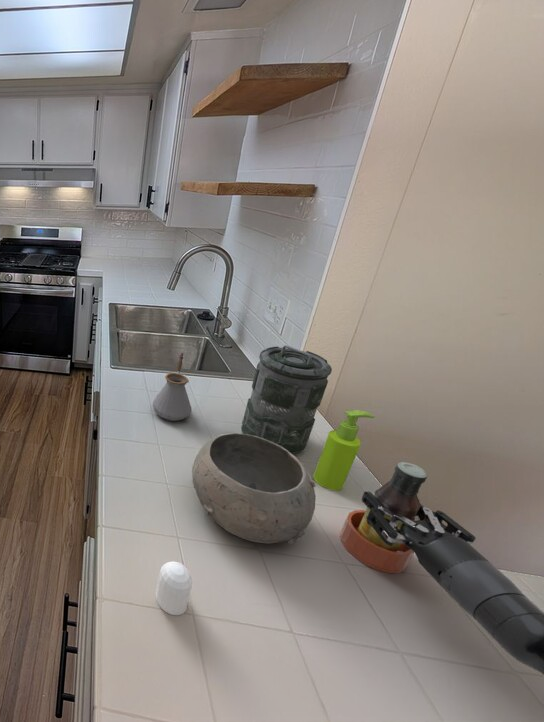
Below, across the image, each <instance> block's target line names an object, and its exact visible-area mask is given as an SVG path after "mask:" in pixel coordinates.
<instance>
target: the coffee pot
mask: <svg viewBox="0 0 544 722" xmlns="http://www.w3.org/2000/svg"><path fill="white" fill-rule="evenodd" d="M178 355H179V356H178V358H179V360H178V361H177V367H176V372H170V373H167V374H166V375H165V376H164V379H165V380H166V382H165V384H164V386H163V387H162V388H161V390H159V392H158V394H157V395H156V397H155V398H154V399H153V401H152V407H153V410H154V411H155V412H156V413H157V414H158V416H159V417H160V418H162V419H164V420H165V421H166V420H167V421H171V422H178V421H181V420H184V419H186V418H188V417H190V415H191V413H192V405H191V401H190V399H189V396H188V392H187V389H186V385H187V384H188V383H189V381H190V380H189V378H188V377H187V376H185V375H183V374H180V371H181V369H182V365H183V359H184V357H186V354H185V353H184V352H180V353H178Z"/></svg>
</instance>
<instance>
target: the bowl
mask: <svg viewBox="0 0 544 722" xmlns="http://www.w3.org/2000/svg"><path fill="white" fill-rule="evenodd" d="M191 473H192V485H193V488H194V491H195V494H196V497H197V498H198V500H199V502H200V504H201V506H202V508H203V512H204V514H205V515H208V516H209V517H210V518H211V519H212V520H213V521H214V522H215V523H216V524H218V525H219V526H220V527H221V528H222V529H224V530H225V531H226V532H228V533H230V534H232V535H234V536H236V537H238V538H241V539H243V540H247V541H249V542H253V543H260V544H276V543H277V544H278V543H282V542H287V543H288V544H295V543H296V542H297V541H298V540H299V539H301V538H303V537H304V536H305V534H306V531H305V530H306V529H307V527H308V525H309V524H310V523H311V521H312V519H313V517H314V513H315V510H316V491H315V488H316V484H315V483H316V482H315V480H314V478H311V477H310V474H309V472H308V470H307V469H306V467H305V466H304V464H303V463H302V462H301V461H300V459H298V458H297V457H296V455H293V454H291V453H290V452H289V451H288V450H286V449H285V448H283V447H282V446H280V445H277V444H275V443H273V442H271V441H269V440H266V439H263V438H260V437H257V436H253V435H249V434H243V433H240V432H229V433H222V434H218V435H216V436H213V437H211V438H210V439H208V440H207V441H206V442H205V443H204V444H203V445H202V446H201V448H200V449H199V451H198V453H197V454H196V456H195V458H194V461H193V464H192V470H191Z"/></svg>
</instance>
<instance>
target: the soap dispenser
mask: <svg viewBox="0 0 544 722" xmlns="http://www.w3.org/2000/svg"><path fill="white" fill-rule="evenodd" d="M343 413H344V414H345V415H346V417H347V418H346V420H341V421H340V422H339V424H338V428H337V429H333V430H330V431H329V432H328V435H327V437H326V440H325V443H324V446H323V448H322V450H321V454H320V456H319V459H318V462H317V464H316V467H315V470H314V473H313V476H312V477H313V478H312V479H313V481H314V482H315V483H317V484H318V485H319V486H320V487H322V488H325V489H327V490H330V491H336V492H337V491H341V490H343V488H344V486H345V483H346V481H347V479H348V476H349V473H350V471H351V469H352V467H353V463H354V461H355V459H356V456H357V454H358V452H359V449H360V447H361V444H362V443H361V442H362V441H361V440H360V439H359V438H358V437H357V435H358V431H360V430H359V429H360V427H359V425H358V424H357V421H358V418H367V419H368V418H369V419H374V418H375V416H374V415H373V414H372V413H370V412H369V411H366V410H360V409H353V410H344V412H343Z"/></svg>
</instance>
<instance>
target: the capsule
mask: <svg viewBox="0 0 544 722" xmlns="http://www.w3.org/2000/svg"><path fill="white" fill-rule="evenodd" d="M156 584H157V585H156V590H155V594H154V595H155V600H156V603H157V605H158V606H159V607H160V608H161V610H163V611H164V612H165V613H167V614H169V615H171V616H180V615H183V614H184V613H185V612H186V611H187V609H188V604H189V600H190V595H191V591H192V587H193V579H192V575H191V573H190V571H189V570H188V569H187V567H186V566H185V565H184V564H182V563H181V562H178V561H173V560H172V561H168V562H165V563H164V564H163V565H162V566H161V568H160V570H159V574H158V579H157V583H156Z"/></svg>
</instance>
